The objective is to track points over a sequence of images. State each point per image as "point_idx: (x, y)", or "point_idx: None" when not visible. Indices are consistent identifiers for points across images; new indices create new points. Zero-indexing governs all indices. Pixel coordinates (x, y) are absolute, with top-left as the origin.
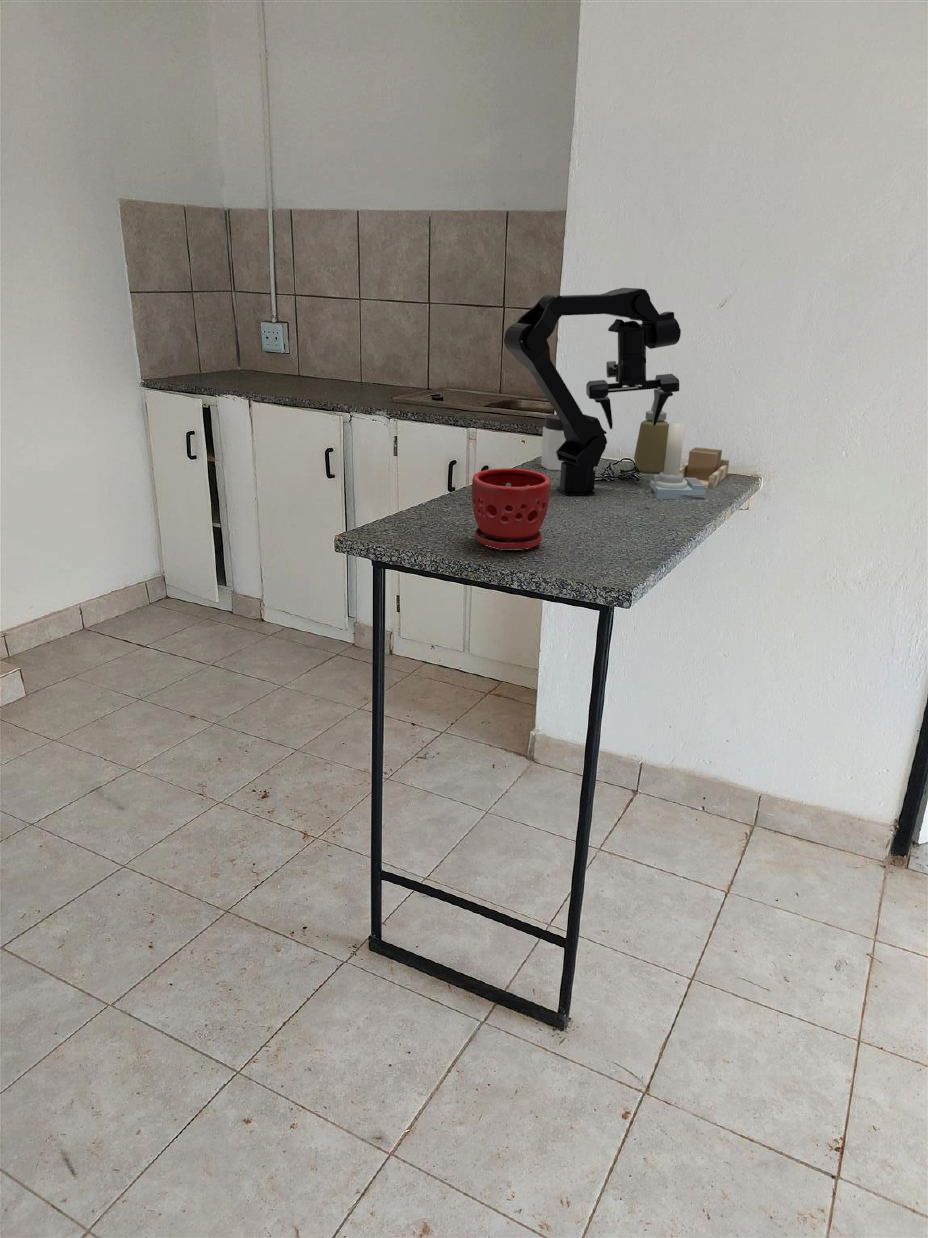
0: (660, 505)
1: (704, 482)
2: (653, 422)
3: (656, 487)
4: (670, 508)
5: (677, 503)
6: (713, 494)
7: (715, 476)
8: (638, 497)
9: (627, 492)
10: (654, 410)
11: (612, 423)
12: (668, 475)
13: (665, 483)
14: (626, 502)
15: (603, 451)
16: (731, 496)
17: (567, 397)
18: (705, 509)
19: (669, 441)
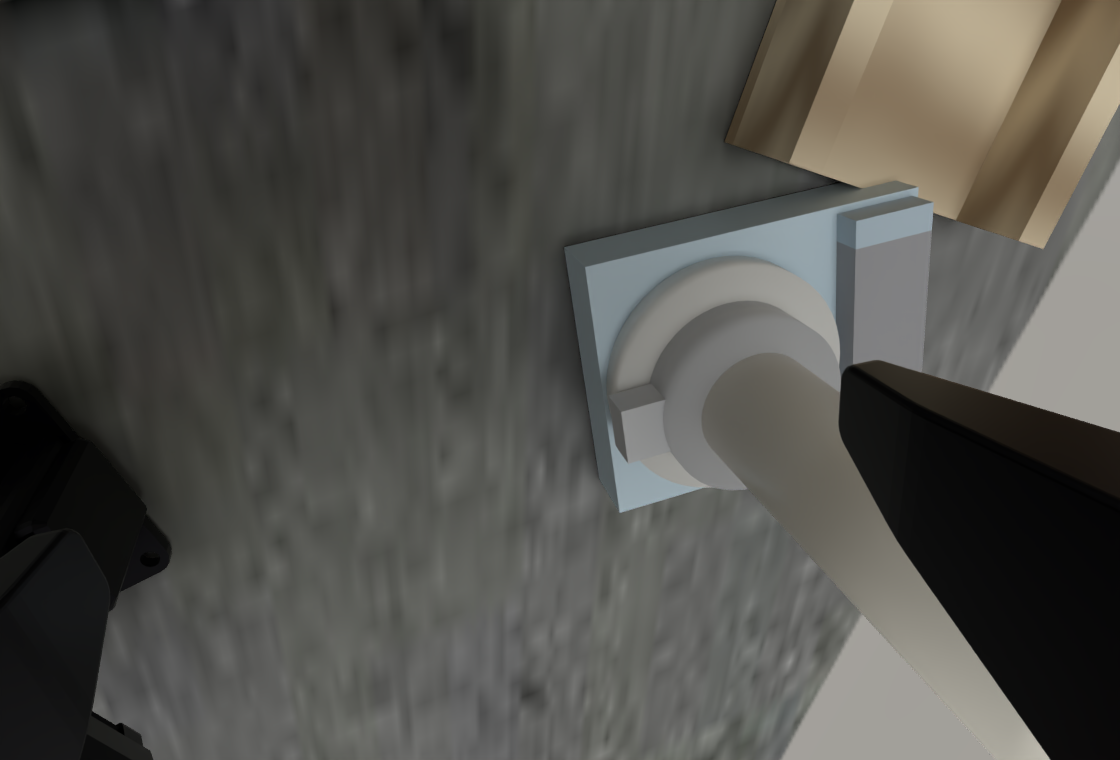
0: (606, 610)
1: (996, 16)
2: (862, 456)
3: (614, 468)
4: (652, 643)
5: (703, 535)
6: (958, 242)
7: (1071, 184)
8: (484, 489)
9: (404, 381)
10: (1029, 594)
11: (91, 711)
12: (724, 475)
13: (682, 483)
14: (414, 628)
15: (146, 753)
16: (1040, 261)
17: None
18: (818, 591)
19: (872, 622)
